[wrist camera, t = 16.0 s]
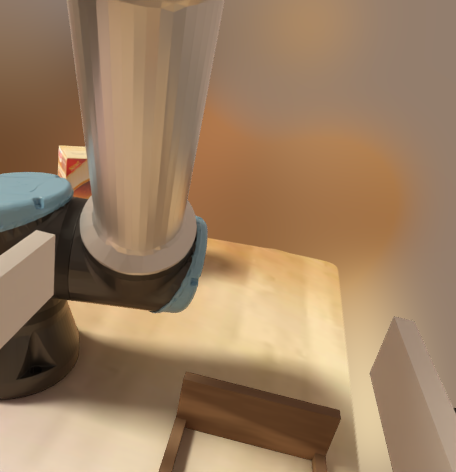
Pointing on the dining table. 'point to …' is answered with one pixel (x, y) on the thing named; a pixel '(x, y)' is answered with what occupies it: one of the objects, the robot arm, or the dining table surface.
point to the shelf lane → (252, 420)
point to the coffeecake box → (75, 169)
